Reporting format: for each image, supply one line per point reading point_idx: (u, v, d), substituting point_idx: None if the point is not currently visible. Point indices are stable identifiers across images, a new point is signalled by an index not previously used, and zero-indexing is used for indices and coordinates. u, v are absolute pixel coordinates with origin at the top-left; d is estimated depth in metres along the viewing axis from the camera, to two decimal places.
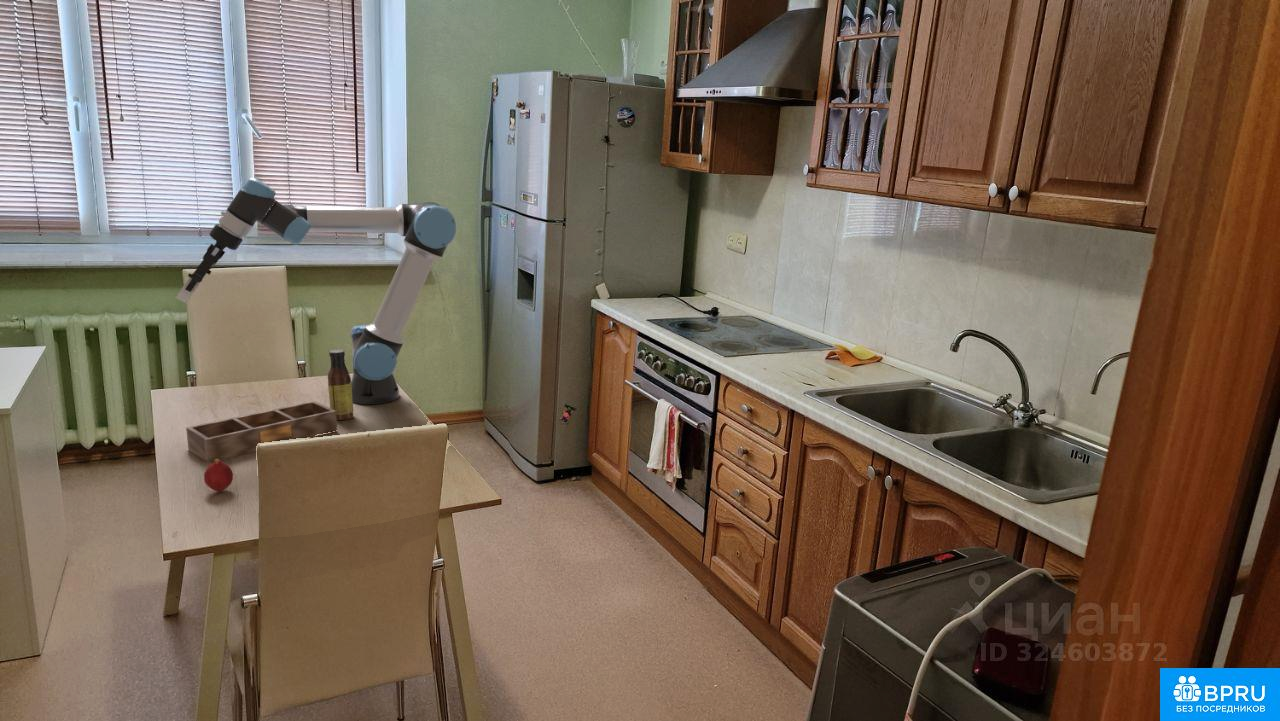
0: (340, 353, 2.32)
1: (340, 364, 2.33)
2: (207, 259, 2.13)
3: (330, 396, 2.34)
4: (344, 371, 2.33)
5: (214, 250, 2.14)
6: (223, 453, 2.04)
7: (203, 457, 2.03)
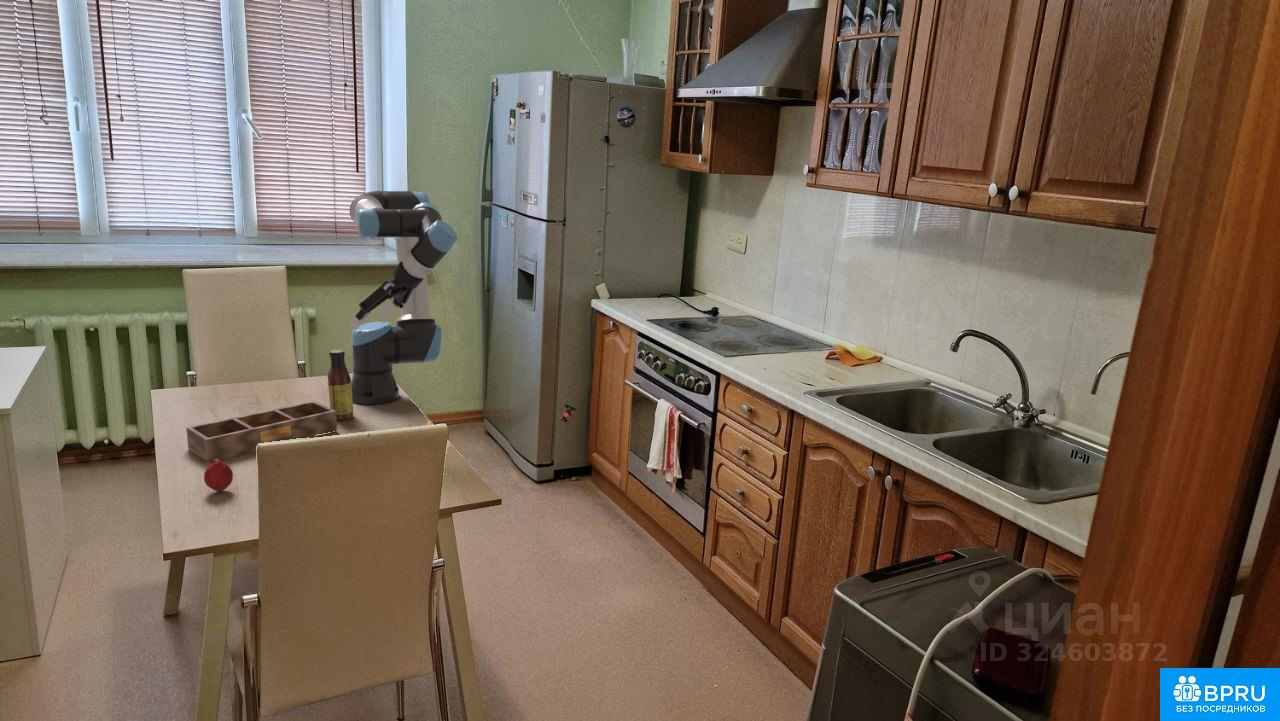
0: (340, 353, 2.32)
1: (340, 364, 2.33)
2: None
3: (330, 396, 2.34)
4: (344, 371, 2.33)
5: None
6: (223, 453, 2.04)
7: (203, 457, 2.03)
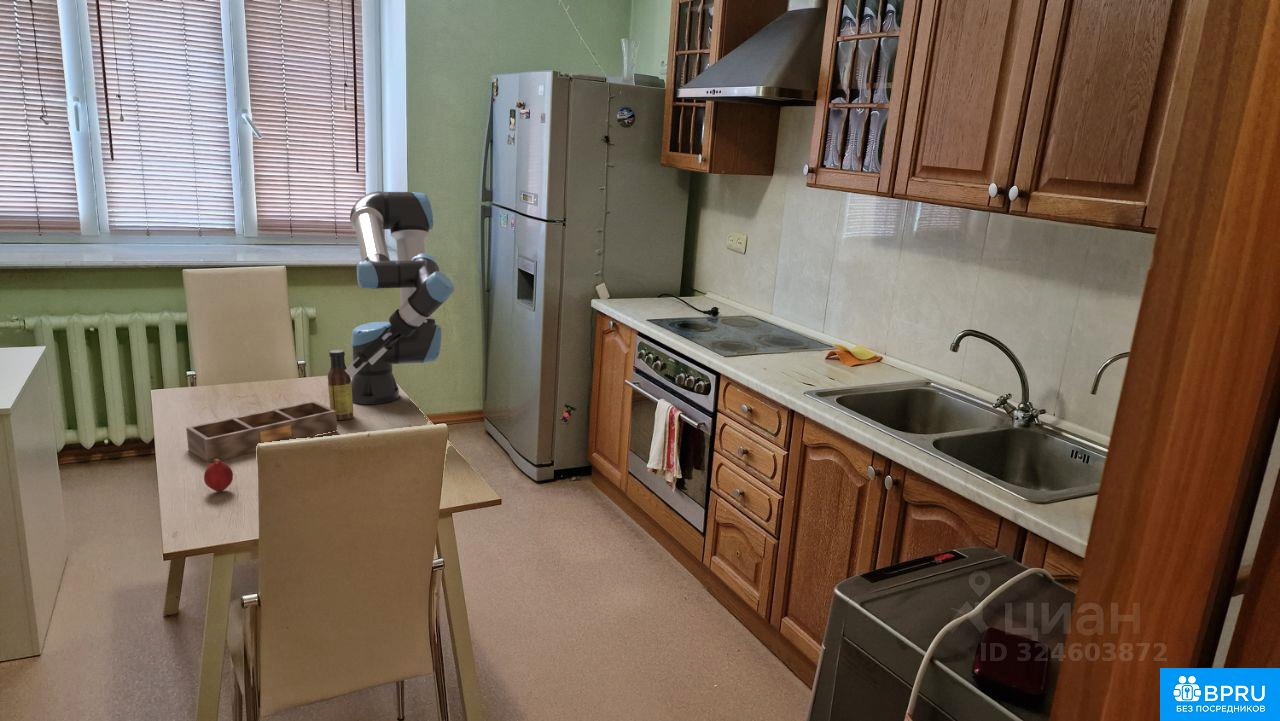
0: (340, 353, 2.32)
1: (340, 364, 2.33)
2: None
3: (330, 396, 2.34)
4: (344, 371, 2.33)
5: None
6: (223, 453, 2.04)
7: (203, 457, 2.03)
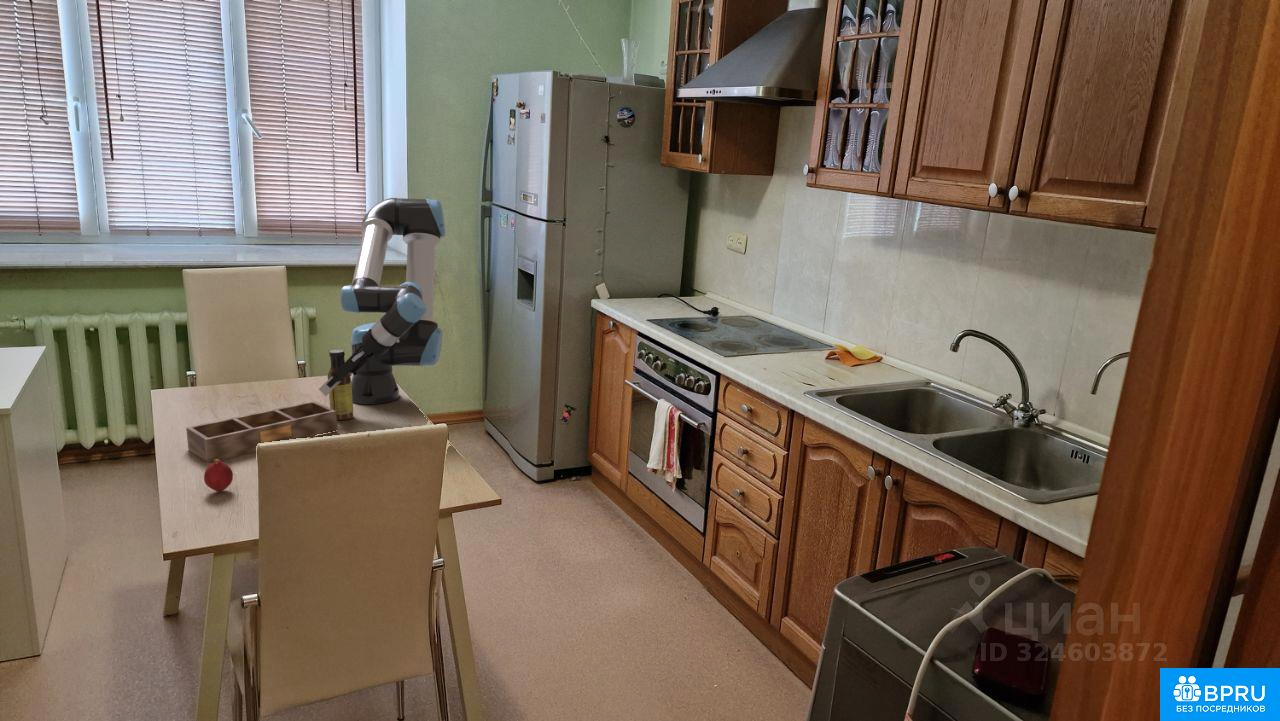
0: (340, 353, 2.32)
1: (340, 364, 2.33)
2: None
3: (330, 396, 2.34)
4: None
5: None
6: (223, 453, 2.04)
7: (203, 457, 2.03)
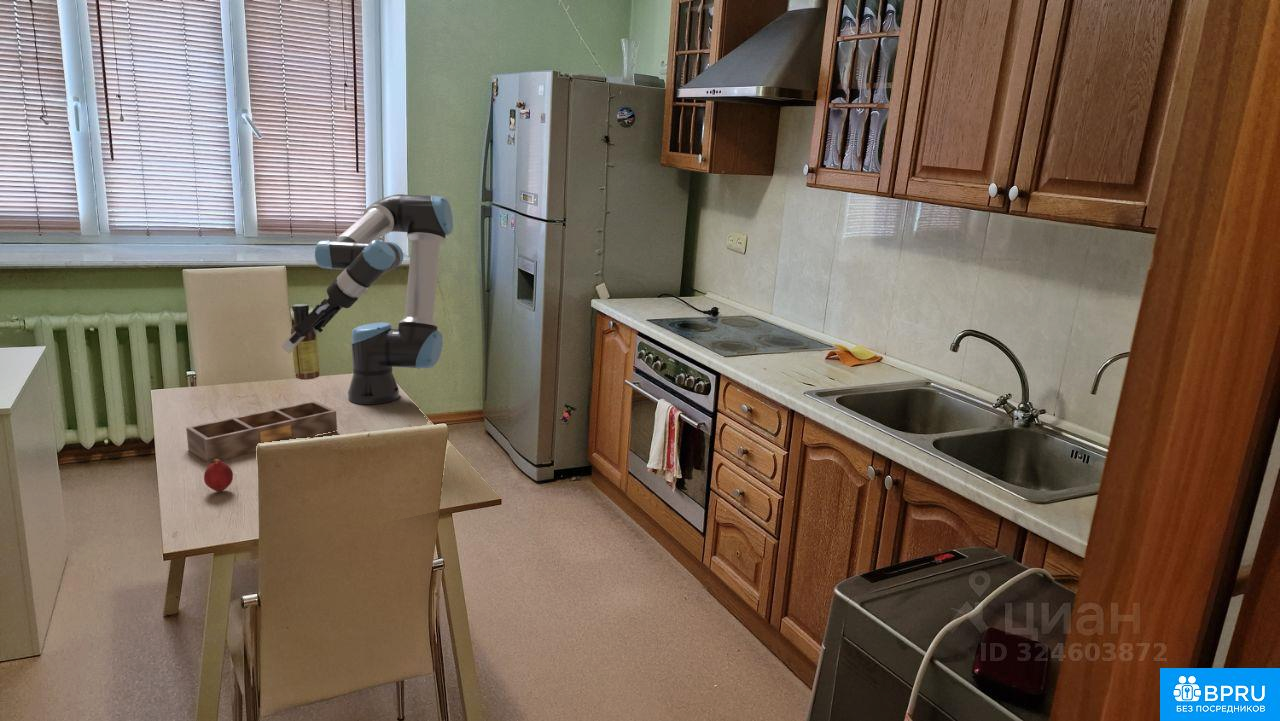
0: (304, 307, 2.17)
1: None
2: None
3: (294, 354, 2.18)
4: None
5: None
6: (223, 453, 2.04)
7: (203, 457, 2.03)
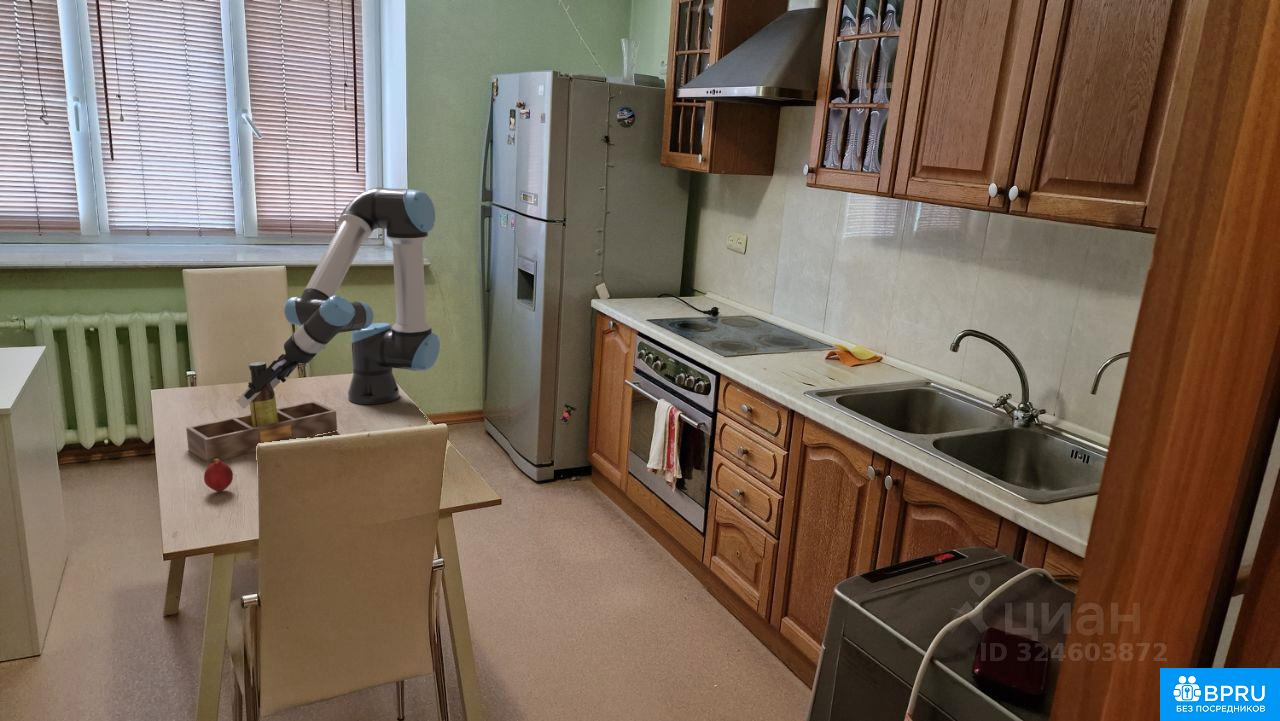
0: (261, 366, 2.11)
1: None
2: None
3: (251, 413, 2.14)
4: (266, 385, 2.13)
5: None
6: (223, 453, 2.04)
7: (203, 457, 2.03)
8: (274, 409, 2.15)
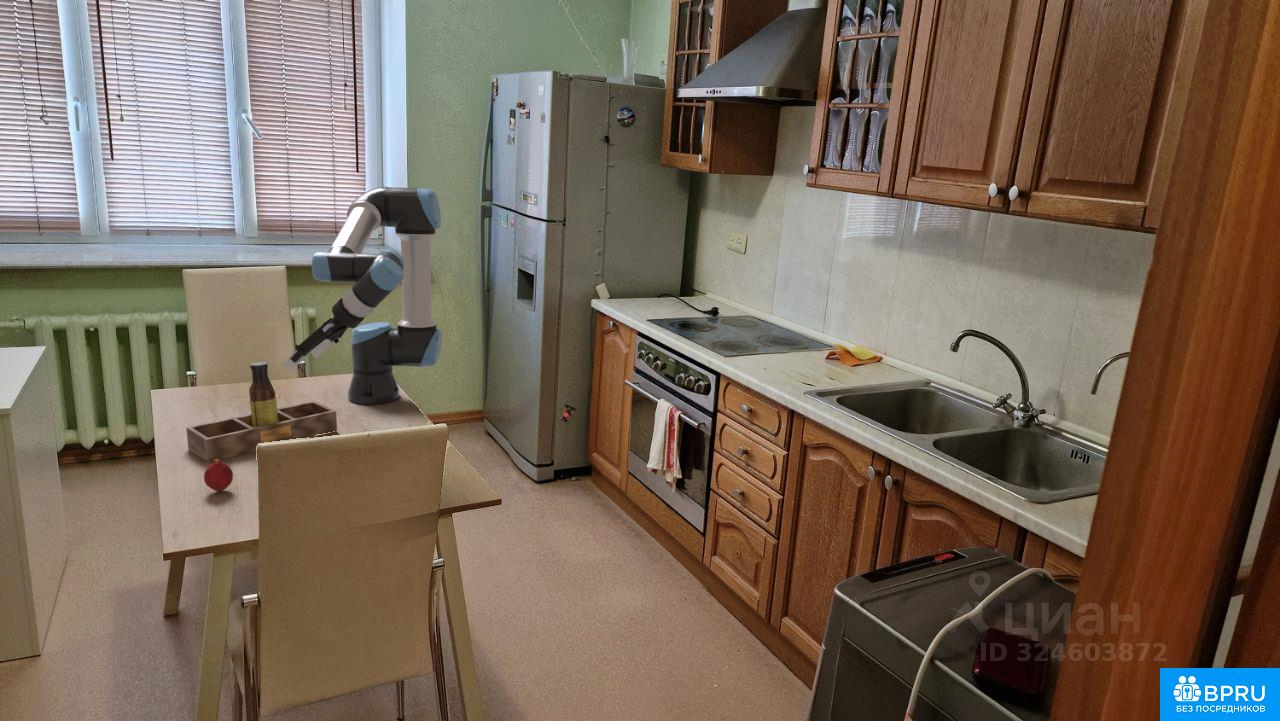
0: (262, 366, 2.12)
1: (262, 378, 2.12)
2: None
3: (252, 413, 2.14)
4: (267, 385, 2.13)
5: None
6: (223, 453, 2.04)
7: (203, 457, 2.03)
8: (274, 409, 2.15)
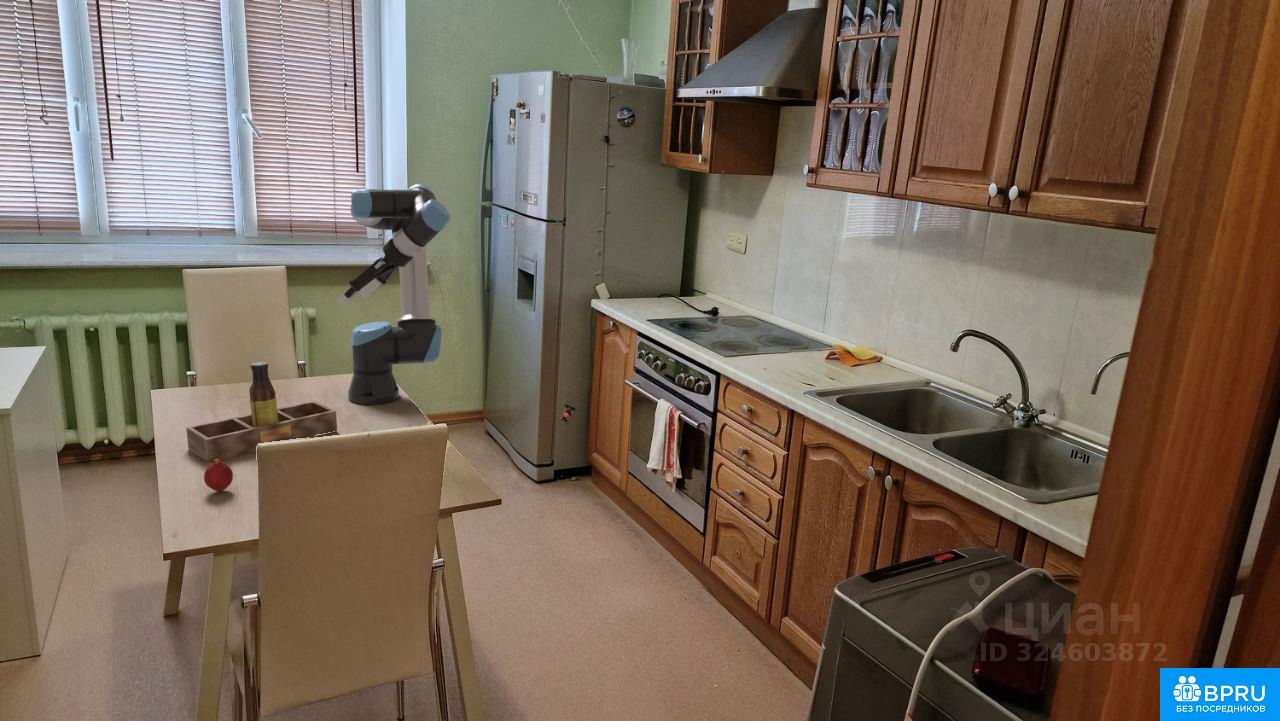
0: (262, 366, 2.12)
1: (263, 378, 2.12)
2: None
3: (252, 413, 2.14)
4: (267, 385, 2.13)
5: None
6: (223, 453, 2.04)
7: (203, 457, 2.03)
8: (275, 409, 2.15)
